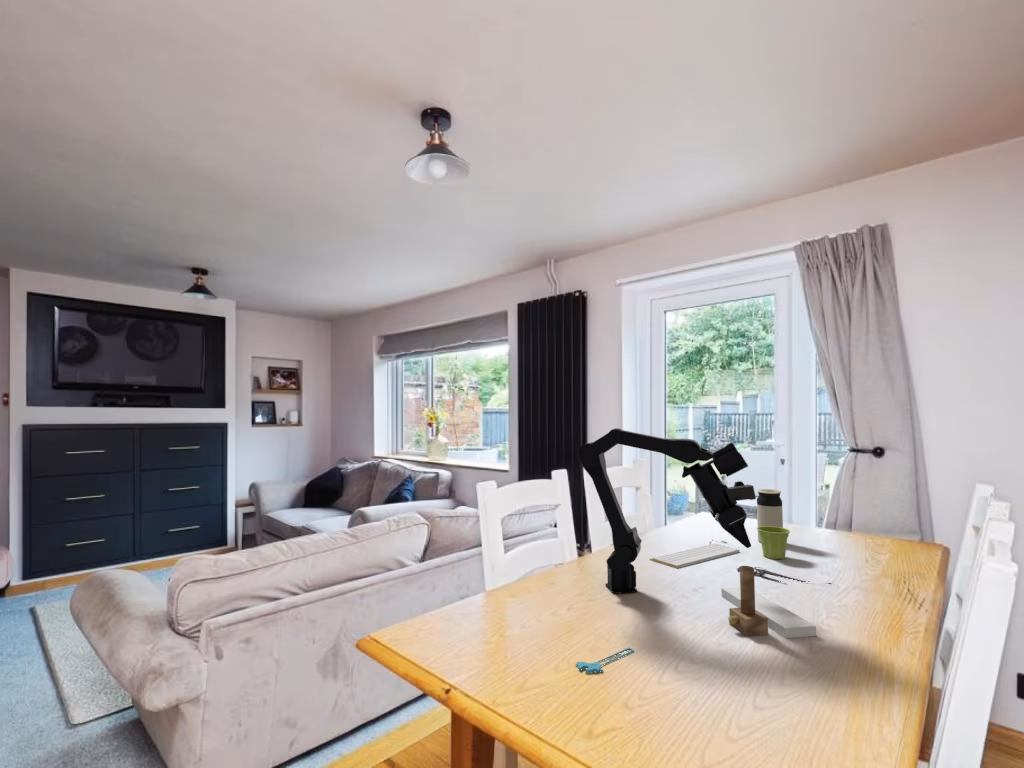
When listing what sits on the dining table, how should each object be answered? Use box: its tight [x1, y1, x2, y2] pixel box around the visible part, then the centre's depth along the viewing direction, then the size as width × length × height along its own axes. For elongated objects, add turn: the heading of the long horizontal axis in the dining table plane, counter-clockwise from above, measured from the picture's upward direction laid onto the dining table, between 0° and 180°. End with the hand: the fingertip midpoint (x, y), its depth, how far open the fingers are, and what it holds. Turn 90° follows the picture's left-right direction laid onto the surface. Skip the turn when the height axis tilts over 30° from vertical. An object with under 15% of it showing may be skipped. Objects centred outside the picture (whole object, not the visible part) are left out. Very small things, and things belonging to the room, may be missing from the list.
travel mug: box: [756, 488, 784, 543], centre depth 181 cm, size 8×8×18 cm
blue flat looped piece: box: [575, 647, 635, 674], centre depth 97 cm, size 14×1×5 cm
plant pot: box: [756, 526, 791, 560], centre depth 163 cm, size 9×9×9 cm
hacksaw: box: [736, 566, 810, 583], centre depth 143 cm, size 24×10×2 cm, turn 36°
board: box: [720, 586, 817, 639], centre depth 118 cm, size 7×24×2 cm, turn 8°
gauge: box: [728, 565, 769, 638], centre depth 110 cm, size 7×6×13 cm
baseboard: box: [649, 539, 740, 569], centre depth 166 cm, size 31×3×12 cm
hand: (745, 543), depth 125 cm, fingers open, 9 cm apart
